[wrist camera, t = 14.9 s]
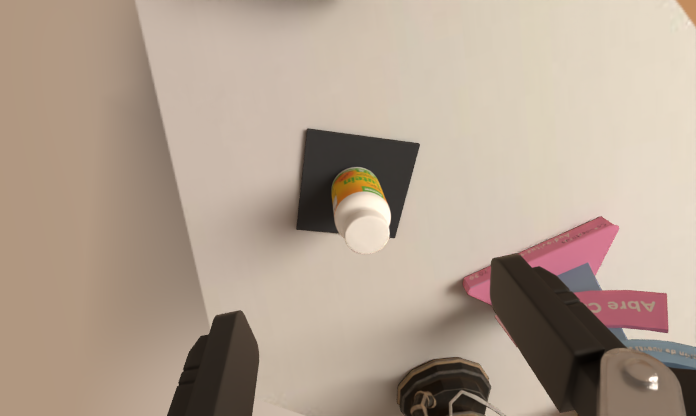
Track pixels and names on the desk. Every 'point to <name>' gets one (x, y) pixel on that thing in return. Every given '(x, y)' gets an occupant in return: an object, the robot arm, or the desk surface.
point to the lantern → (445, 389)
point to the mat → (346, 152)
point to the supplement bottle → (360, 210)
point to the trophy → (598, 290)
